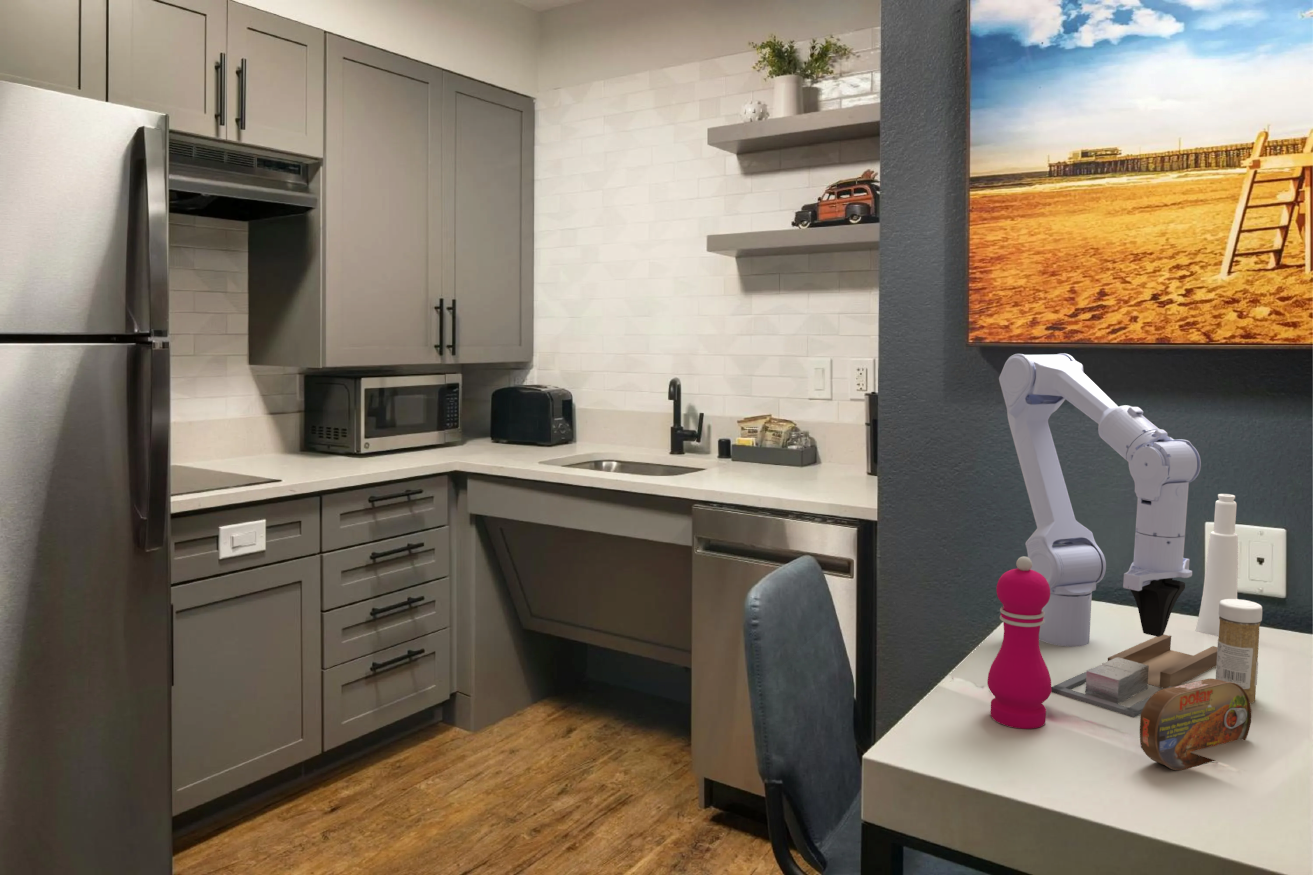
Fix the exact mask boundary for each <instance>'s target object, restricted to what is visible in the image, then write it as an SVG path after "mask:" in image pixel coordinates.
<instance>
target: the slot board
mask: <svg viewBox="0 0 1313 875" xmlns="http://www.w3.org/2000/svg"><path fill="white" fill-rule="evenodd" d="M1171 642H1172V636H1171V635H1167V634H1165V633H1164V634H1163V635H1162V636H1160V637H1157V636H1154V637H1151V638H1149V639H1147V640H1145V641H1143V642H1140V643H1139V644H1136V645H1134V646H1131V647H1129V648H1126V649H1125V650H1122V651H1120V652H1118V653H1115V654H1113V655H1112V656H1108V657H1107V661H1109V660H1112V659H1114V658H1116V657H1119V658H1123V659H1126V660H1130V661H1134V662H1137V663H1141V664H1145V665H1149V671H1148V685H1150V686H1154V687H1157V688H1161V689H1165V688H1167V687H1169V686H1172V687H1174V686H1179V685H1183V684H1185V683H1186V682H1189V681H1190V680H1192V679H1194V678H1195V677H1198V676H1200V675H1201V674H1204V673H1205V672H1208V671H1209V670H1212V669H1213V668H1216V663H1217V648H1218V646H1215V645H1212V646H1210V647H1209V648H1206V649H1204V650H1202V651H1200V652H1198V653H1196V654H1194V655H1192V654H1189V653H1184V652H1180V651H1177V650H1173V649H1171Z"/></svg>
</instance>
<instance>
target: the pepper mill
mask: <svg viewBox="0 0 1313 875" xmlns="http://www.w3.org/2000/svg"><path fill="white" fill-rule="evenodd" d="M1015 565H1016V568H1012V569H1010V570H1007V571H1005V572H1004V573H1002V574H1001V576H1000V577H999V578H998V580H997V584H996V595H997V598H998V601H1000V603H1001V604H1002V606H1001V607H1000V608H999V612H1000V615H999V620H1000V621H1002V623H1003V639H1002V642H1001V646H1000V649H999V651H998V652H997V654H996V656H995V658H994V659H993V661H992V663H991V665H990V669H989V671H988V675H987V687H988V689H989V691H990V693H991V694H992V695H993V696H994V698H992V699H991V700H990V712H989V713H990V717H991V718H992V719H993V720H994V721H995V722H996V723H998V724H1000V725H1003V726H1005V727H1010V728H1014V729H1022V730H1031V729H1038V728H1041V727H1043V726H1044V725H1045V724H1046V723H1047V722H1046V721H1047V720H1046V718H1047V707H1046V706H1045V705H1044V704H1043V703H1045V701H1047V700H1048V698H1049V697H1050V695H1051V694H1052V692H1051V691H1052V690H1051V687H1052V679H1051V675H1050V671H1049V669H1048V667H1047V664H1046V662H1045V660H1044V657H1043V654H1042V652H1041V647H1040V640H1039V631H1040V626H1041V625H1043V624H1044V622H1045V621H1044V616H1045V612H1044V611H1043V610H1042V608H1043V607H1044V606H1045V605H1046V604H1047V603H1048V601H1049V599H1050V587H1049V584H1048V582H1047V580H1046V578H1045V577H1044V576H1043V575H1041V574H1040V573H1038V572H1036V571H1034V570H1030V569H1031V567H1032V561H1031V560H1030V559H1029V558H1028V556H1020V557H1018V559H1017V560H1016V563H1015Z"/></svg>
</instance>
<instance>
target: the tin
mask: <svg viewBox="0 0 1313 875" xmlns="http://www.w3.org/2000/svg"><path fill="white" fill-rule="evenodd" d="M1150 696H1151V697H1150ZM1150 696H1149V697H1150V698H1149V700H1148V701H1147V702H1146V704H1145V706H1144V708H1143V710H1142V712H1141V714H1140V718H1139V719H1140V720H1139V721H1140V722H1139V738H1140V739H1139V740H1140V747H1141V749H1142V750H1143V752H1144V754H1145V755H1146V756H1147V757H1148V758H1149V759H1150V760H1151V761H1154V762H1156V763H1157V764H1161V765H1163V766H1166V767H1167V768H1168V769H1171V770H1173V771H1184V770H1188V769H1191V768H1195V767H1198V766H1201V765H1205V764H1209V763H1213V762H1215V761H1217V760H1215V759H1213V758H1209V757H1206V756H1203V755H1200V754H1197V753H1194V752H1197V751H1199V750H1200V751H1201V750H1204V749H1208V748H1212V747H1217V746H1219V745H1224V744H1227V743H1232V742H1235V741H1240V740H1241V741H1246V740H1247V737H1248V735H1249V732H1250V728H1251V723H1252V707H1251V706H1252V705H1251V703H1250V700H1249V697H1248V695H1247V693H1246V692H1245V690H1244V689H1243V688H1242V687H1241V686H1239V685H1238V684H1235V683H1232V682H1225V681H1222V680H1218V679H1216V678H1205V679H1201V680H1196V681H1193V682H1188V683H1183V684H1181V685H1179V686H1174V687H1170V688H1165V689H1164V688H1161V689H1160V690H1158V691H1155V693H1153V694H1152V695H1150Z"/></svg>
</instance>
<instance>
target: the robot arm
mask: <svg viewBox="0 0 1313 875" xmlns="http://www.w3.org/2000/svg"><path fill="white" fill-rule="evenodd" d="M998 380H999V385H1000V387H1001V392H1002V396H1003V399H1004V403H1005V407H1006V410H1007V411H1006V412H1007V421H1008V425H1009V429H1010V432H1011V436H1012V439H1013V444H1014V447H1015V452H1016V454H1017V459H1018V461H1019V466H1020V470H1021V472H1022V476H1023V477H1022V478H1023V480H1024V484H1025V488H1026V492H1027V495H1028V499H1029V502H1030V506H1031V511H1032V513H1033V517H1034V521H1035V525H1036V529H1035V530H1034V532H1032V534H1031V535H1030V536H1029V538H1028V539H1027V540H1026V541H1025V548H1026V551H1027V557H1028V558H1029V559H1030V560H1031V561H1032V567H1031V569H1030V570H1034V571H1036V572H1038V573H1040V574H1041V575H1043V576H1044V577H1045V578H1046V580H1047V582H1048V584H1049V587H1050V599H1049V601H1048V603H1047V604H1046V605H1045V606H1044V607H1043V608H1042V610H1043V611H1044V612H1045V616H1044V621H1045V622H1044V624H1043V625H1041V626H1040V631H1039V641H1042V642H1044V643H1047V644H1050V645H1055V646H1061V647H1082V646H1083V647H1085V646H1087V645H1088V644H1090V636H1091V616H1092V598H1093V596H1092V595H1093V593H1092V592H1094V591H1096V590H1097V584H1099V583H1100V582H1101V581H1102V580H1103V579H1104V577H1105V575H1106V571H1107V562H1106V557H1105V554H1104V553H1103V551H1102V549H1101V548H1100V546H1098V544H1097V542H1096V540H1095V538H1094V534H1093V531H1091V530H1090V529H1089V528H1087V527H1086V526H1084V525H1083V524H1082V523H1080V522H1079V521H1078V520H1076V516H1075V514H1074V510H1073V507H1072V503H1071V500H1070V495H1069V493H1068V489H1067V488H1068V487H1067V485H1066V482H1065V477H1064V475H1063V471H1062V467H1061V464H1060V460H1059V456H1058V453H1057V449H1056V446H1055V443H1054V439H1053V436H1052V435H1053V434H1052V432H1051V428H1050V426H1049V424H1050V423H1049V419H1050V417H1051V415H1052V414H1053V413H1054V412H1057V411H1058V409H1059V408H1060V407H1061V406H1062V404H1063V403H1064V402H1065V401H1067V402H1069V403H1070V404H1071V405H1073V407H1075V408H1076V409H1078V410H1079V411H1080V412H1082V413H1083V414H1085V415H1086V416H1087V417H1089V418H1090V419H1091V420H1092V421H1094V422H1095V423H1096V424H1098V427H1097V428H1098V430H1097V433H1098V436H1099V438H1100V439H1102V440H1103V441H1104V442H1105V443H1106V444H1107V445H1108V446H1110V447H1111V448H1112V449H1113V450H1114V451H1115V452H1117V454H1119V455H1120V456H1121V457H1122V458H1123V459H1124V460H1125V461H1127V462H1128V469H1129V473H1130V476H1131V477H1132V479H1133V481H1134V493H1135V496H1136V497H1137V501H1136V516H1135V517H1136V520H1135V534H1134V545H1133V546H1134V549H1133V561H1132V563H1131V564H1130V566H1129V569H1128V571H1126V572H1124V573H1123V582H1122V583H1123V584H1122V588H1124V589H1127V590H1129V591H1130V592H1131V594H1132V596H1133V598H1134V601H1135V603H1136V606H1137V610H1138V614H1139V619H1140V625H1141V629H1142V633H1143V634H1144V635H1149V636H1152V637H1153V636H1154V637H1156V636H1157V637H1160V636H1162V635H1163V634H1164V635H1165V632H1166V628H1167V626H1168V623H1169V620H1170V618H1171V614H1172V611H1173V609H1174V608H1175V607H1174V606H1175V604H1176V602H1177V601H1178V599H1179V598H1180V595H1181V594H1182V593H1183V591H1184V590H1185V589H1186V583H1185V582H1184V581H1181V580H1177V579H1176V580H1175V578H1182V579H1188V578H1191V577H1192V576H1193V570H1190V561H1191V560H1190V558H1185V557H1184V554H1185V538H1186V527H1187V526H1186V525H1187V512H1188V498H1189V486H1190V485H1189V484H1190V483H1192V482H1193V481H1195V480H1196V479H1197V477H1198V476H1199V474H1200V471H1201V468H1202V462H1201V461H1202V460H1201V456H1200V454H1199V452H1198V450H1197V448H1196V447H1195V446H1194V445H1193V444H1192V443H1191V441H1190V440H1187V439H1184V438H1183V439H1182V438H1181V439H1180V438H1179V439H1174V438H1173V437H1171V436H1169V435H1168V432H1167V431H1166V430H1165V429H1163V428H1162V429H1160V428H1158V426H1156V425H1155V424H1153V423H1152V422H1151V421H1150V420H1149V419H1148V418H1147V417H1145V416H1144V415H1143V414H1144V411H1143V409H1142V408H1140V407H1139V406H1132V405H1128V404H1127V405H1126V404H1125V405H1120V406H1118V404H1117V403H1115V402H1114V401H1113V400H1112V399H1111V398H1110V396H1108V395H1107V394H1106V393H1105V392H1104V391H1103V390H1102V389H1101V388H1100V387H1099V386H1098V385H1097V384H1096V383H1095V382H1094V381H1093V380H1092V379H1091V378H1090V377H1089V376H1088V375H1087V374H1085V372H1084V365H1083V364H1082V363H1081V362H1079V361H1077V360H1076V359H1075V358H1074V357H1073V356H1072V355H1071V354H1068V353H1065V352H1064V353H1061V352H1060V353H1057V354H1054V353H1053V354H1023V353H1015V354H1013V355H1011V356H1009V357H1008V358H1007V360H1006V361H1005V363H1004V365H1003V368H1002V370H1001V373H1000V374H999V377H998Z"/></svg>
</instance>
